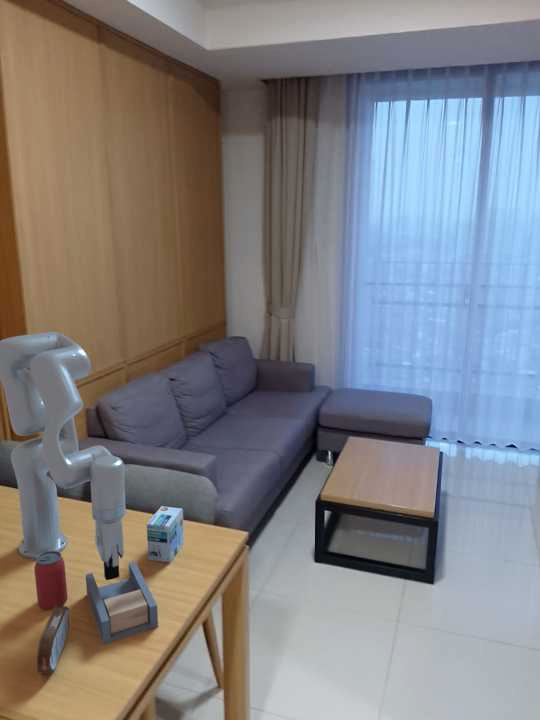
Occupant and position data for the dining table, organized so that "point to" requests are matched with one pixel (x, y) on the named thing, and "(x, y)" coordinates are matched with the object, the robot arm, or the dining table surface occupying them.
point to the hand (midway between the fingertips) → (111, 576)
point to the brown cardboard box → (126, 611)
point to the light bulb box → (165, 534)
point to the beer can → (50, 580)
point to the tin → (53, 640)
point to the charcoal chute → (116, 589)
